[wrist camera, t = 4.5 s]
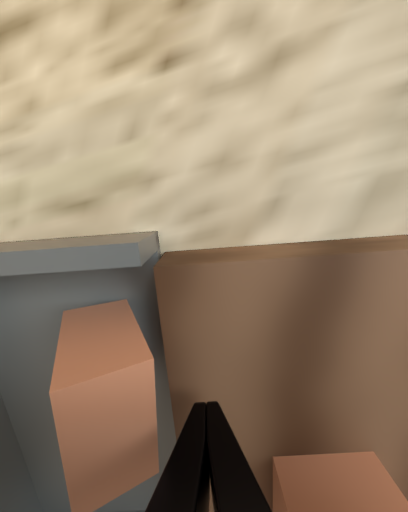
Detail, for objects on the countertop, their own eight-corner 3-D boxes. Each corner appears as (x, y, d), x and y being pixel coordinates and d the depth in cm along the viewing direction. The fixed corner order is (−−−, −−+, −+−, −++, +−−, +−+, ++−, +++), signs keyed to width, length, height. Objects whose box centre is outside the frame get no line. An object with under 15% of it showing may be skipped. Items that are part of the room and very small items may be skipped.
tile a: (153, 358, 6) (49, 392, 5) (159, 472, 7) (73, 523, 6) (126, 299, 10) (63, 310, 9) (132, 379, 11) (76, 399, 10)
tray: (157, 231, 10) (137, 242, 7) (191, 505, 14) (188, 584, 11) (-56, 246, 10) (-164, 264, 7) (40, 513, 14) (-2, 593, 11)
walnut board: (425, 233, 10) (498, 242, 7) (383, 485, 14) (422, 546, 11) (165, 251, 10) (153, 267, 8) (194, 494, 14) (191, 557, 11)
